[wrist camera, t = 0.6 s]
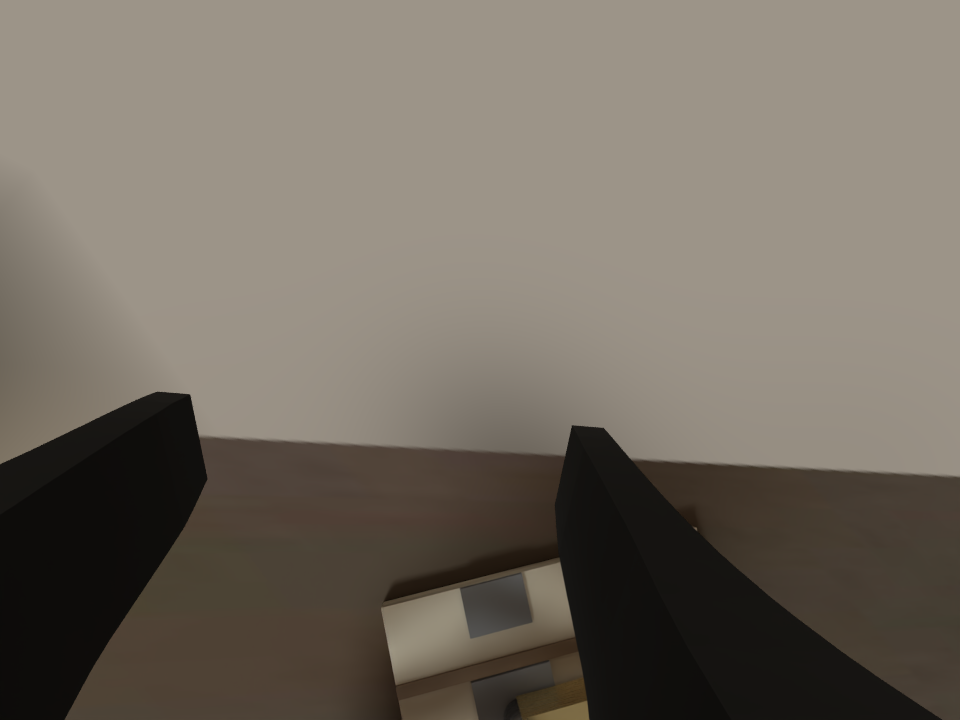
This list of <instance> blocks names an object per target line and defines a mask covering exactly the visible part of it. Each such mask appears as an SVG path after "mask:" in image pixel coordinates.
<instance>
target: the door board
mask: <svg viewBox="0 0 960 720" xmlns="http://www.w3.org/2000/svg"><path fill="white" fill-rule="evenodd" d="M692 527H693V526H692ZM693 528H694V529H695V530H696V531H697V528H696V527H693ZM381 610H382V615H383V620H384V626H385V631H386V636H387V642H388V647H389V652H390V658H391V663H392V668H393V673H394V679H395V684H396V692H397V698H398V701H399V705H400V710H401V716H402V720H504V712H505V709H506V707H507V705H508V704H509V703H510V702H511V701H513V700H515V699H516V696H519V695H523V694H526V693H530V692H533V691H537V690H541V689H544V688H548V687H551V686H555V685H558V684H562V683H566V682H569V681H573V680H576V679H580V678H583V672H582V667H581V662H580V657H579V652H578V647H577V643H576V638H575V633H574V628H573V623H572V618H571V613H570V608H569V603H568V599H567V594H566V589H565V584H564V579H563V574H562V568H561V563H560V558H559V557H558V558H554V559H550V560H547V561H543V562H539V563H535V564H531V565H527V566H523V567H519V568H515V569H511V570H507V571H503V572H499V573H495V574H491V575H488V576H484V577H480V578H476V579H472V580H468V581H464V582H460V583H456V584H452V585H448V586H444V587H440V588H436V589H432V590H429V591H425V592H421V593H417V594H413V595H409V596H405V597H401V598H397V599H393V600H389V601H385V602H383V604H382V607H381Z"/></svg>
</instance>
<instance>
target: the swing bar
mask: <svg viewBox="0 0 960 720" xmlns="http://www.w3.org/2000/svg"><path fill="white" fill-rule="evenodd" d="M504 720H589V713H588V704H587V697H586V690H585V684H584V678H580V679H576V680H573V681H569V682H566V683H562V684H558V685H555V686H551V687H548V688H544V689H541V690H537V691H533V692H530V693H526V694H523V695H519V696H516V699H515V700H513V701H511V702H510V703H509V704H508V705H507V707H506V709H505V712H504Z"/></svg>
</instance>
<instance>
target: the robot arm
mask: <svg viewBox="0 0 960 720" xmlns="http://www.w3.org/2000/svg"><path fill="white" fill-rule="evenodd" d="M206 481H207V474H206V469H205V464H204V460H203V455H202V450H201V445H200V440H199V435H198V430H197V425H196V421H195V416H194V411H193V406H192V401H191V396H190V395H189V394H180V393H167V392H155V393H152V394H150V395H147V396H145V397H142V398H140V399H138V400H135V401H133V402H131V403H129V404H127V405H124V406H122V407H120V408H118V409H116V410H114V411H112V412H110V413H107V414H105V415H103V416H101V417H100V418H97V419H95V420H93V421H91V422H89V423H87V424H85V425H83V426H81V427H78V428H77V429H74V430H72V431H70V432H68V433H66V434H64V435H62V436H60V437H58V438H56V439H54V440H51V441H49V442H47V443H45V444H43V445H41V446H39V447H37V448H35V449H33V450H31V451H28V452H26V453H24V454H22V455H20V456H18V457H15V458H13V459H11V460H8V461H6V462H4V463H2V464H0V720H65V718H66V716H67V714H68V712H69V710H70V708H71V707H72V705H73V703H74V701H75V699H76V697H77V695H78V694H79V692H80V690H81V688H82V686H83V684H84V682H85V681H86V679H87V677H88V675H89V673H90V671H91V670H92V668H93V666H94V665H95V663H96V661H97V660H98V658H99V656H100V655H101V653H102V652H103V650H104V648H105V647H106V645H107V643H108V642H109V640H110V639H111V637H112V636H113V634H114V633H115V631H116V630H117V628H118V627H119V625H120V624H121V622H122V621H123V619H124V618H125V616H126V615H127V613H128V612H129V610H130V609H131V607H132V606H133V604H134V603H135V601H136V600H137V598H138V597H139V595H140V594H141V592H142V591H143V589H144V588H145V586H146V585H147V583H148V582H149V580H150V579H151V577H152V576H153V574H154V573H155V571H156V570H157V568H158V567H159V565H160V564H161V562H162V561H163V559H164V558H165V556H166V555H167V553H168V551H169V550H170V548H171V547H172V545H173V544H174V542H175V541H176V539H177V538H178V536H179V535H180V533H181V531H182V530H183V528H184V527H185V525H186V523H187V521H188V519H189V517H190V515H191V513H192V511H193V509H194V507H195V505H196V503H197V500H198V498H199V496H200V494H201V492H202V490H203V487H204V485H205V483H206ZM555 514H556V528H557V540H558V551H559V558H560V563H561V568H562V574H563V579H564V584H565V589H566V594H567V599H568V603H569V608H570V613H571V618H572V623H573V628H574V633H575V638H576V643H577V647H578V652H579V657H580V662H581V667H582V672H583V678H584V684H585V690H586V697H587V704H588V713H589V720H942V719H940V718H939V717H937V716H936V715H934V714H933V713H931V712H930V711H928V710H927V709H925V708H924V707H922V706H920V705H919V704H917V703H916V702H914V701H913V700H911V699H910V698H908V697H907V696H905V695H904V694H902V693H901V692H899V691H898V690H896V689H895V688H893V687H892V686H890V685H889V684H887V683H886V682H884V681H883V680H881V679H880V678H878V677H877V676H875V675H874V674H873V673H871V672H870V671H868V670H867V669H866V668H864V667H863V666H861V665H860V664H858V663H857V662H856V661H854V660H853V659H851V658H850V657H848V656H847V655H846V654H844V653H843V652H841V651H840V650H839V649H837V648H836V647H835V646H833V645H832V644H831V643H829V642H828V641H827V640H825V639H824V638H823V637H821V636H820V635H819V634H817V633H816V632H815V631H813V630H812V629H811V628H809V627H808V626H807V625H805V624H804V623H803V622H801V621H800V620H799V619H797V618H796V617H795V616H793V615H792V614H791V613H790V612H788V611H787V610H786V609H785V608H783V607H782V606H781V605H780V604H778V603H777V602H776V601H775V600H773V599H772V598H771V597H770V596H768V595H767V594H766V593H765V592H764V591H763V590H761V589H760V588H759V587H758V586H757V585H756V584H754V583H753V582H752V581H751V580H750V579H749V578H747V577H746V576H745V575H744V574H743V573H742V572H740V571H739V570H738V569H737V568H736V567H735V566H733V565H732V564H731V563H730V562H729V561H728V560H727V559H726V558H725V557H723V556H722V555H721V554H720V553H719V552H718V551H717V550H716V549H715V548H714V547H713V546H712V545H711V544H710V543H709V542H708V541H707V540H706V539H705V538H704V537H703V536H701V535H700V534H699V533H698V532H697V531H696V530H695V529H694V528H693V527H692V526H691V525H690V524H689V523H688V522H687V521H686V520H685V519H684V518H683V517H682V516H681V515H680V514H679V512H678V511H677V510H676V509H675V508H674V507H673V506H672V505H671V504H670V503H669V502H668V501H667V500H666V499H665V498H664V497H663V496H662V494H661V493H660V492H659V491H658V490H657V489H656V488H655V487H654V486H653V485H652V483H651V482H650V481H649V480H648V479H647V478H646V477H645V475H644V474H643V473H642V472H641V471H640V470H639V469H638V467H637V466H636V465H635V464H634V463H633V462H632V460H631V459H630V458H629V457H628V456H627V455H626V453H625V452H624V451H623V450H622V449H621V448H620V446H619V445H618V444H617V443H616V442H615V441H614V439H613V438H612V437H611V436H610V435H609V433H608V432H607V431H606V430H605V429H604V428H598V427H597V428H596V427H584V426H572V428H571V433H570V437H569V442H568V447H567V451H566V456H565V460H564V465H563V470H562V474H561V479H560V484H559V488H558V493H557V498H556V502H555Z"/></svg>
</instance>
